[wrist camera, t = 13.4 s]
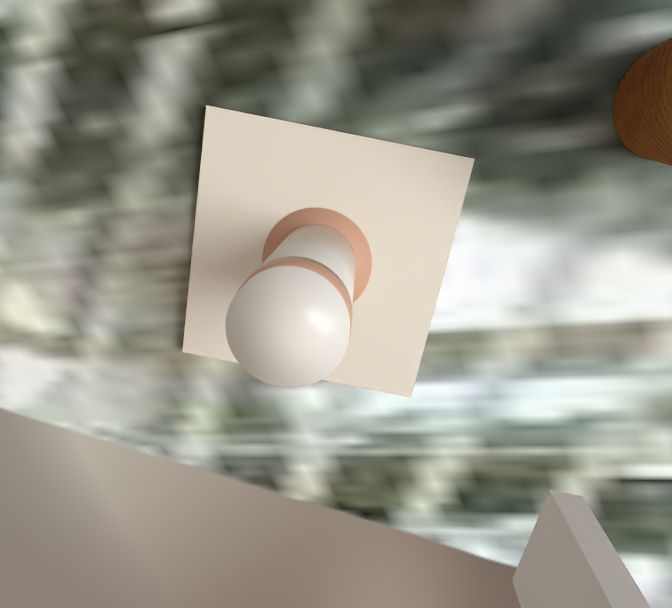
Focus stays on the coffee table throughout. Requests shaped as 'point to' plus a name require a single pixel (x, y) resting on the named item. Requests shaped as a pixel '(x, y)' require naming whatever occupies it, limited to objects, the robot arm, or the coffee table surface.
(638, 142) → the disposable coffee cup
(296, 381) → the plastic tube
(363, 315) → the card
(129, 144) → the coffee table surface
